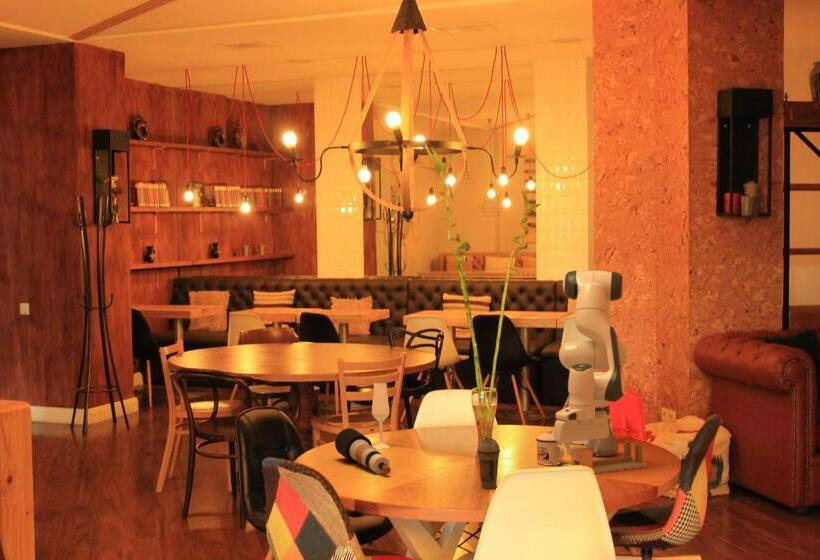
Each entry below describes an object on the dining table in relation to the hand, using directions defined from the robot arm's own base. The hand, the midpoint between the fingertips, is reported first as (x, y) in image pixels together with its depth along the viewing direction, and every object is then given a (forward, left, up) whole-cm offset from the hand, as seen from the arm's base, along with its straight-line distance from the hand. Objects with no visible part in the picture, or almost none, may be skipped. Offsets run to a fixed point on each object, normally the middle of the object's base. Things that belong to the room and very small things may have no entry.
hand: (582, 453), depth 352 cm
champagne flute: (-68, -44, -6) cm, 82 cm away
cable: (-40, -62, -6) cm, 74 cm away
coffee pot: (-17, +16, -6) cm, 24 cm away
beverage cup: (+5, -38, -6) cm, 39 cm away
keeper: (0, 0, -4) cm, 4 cm away
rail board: (0, +10, -6) cm, 11 cm away
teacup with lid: (-13, -3, -6) cm, 15 cm away
